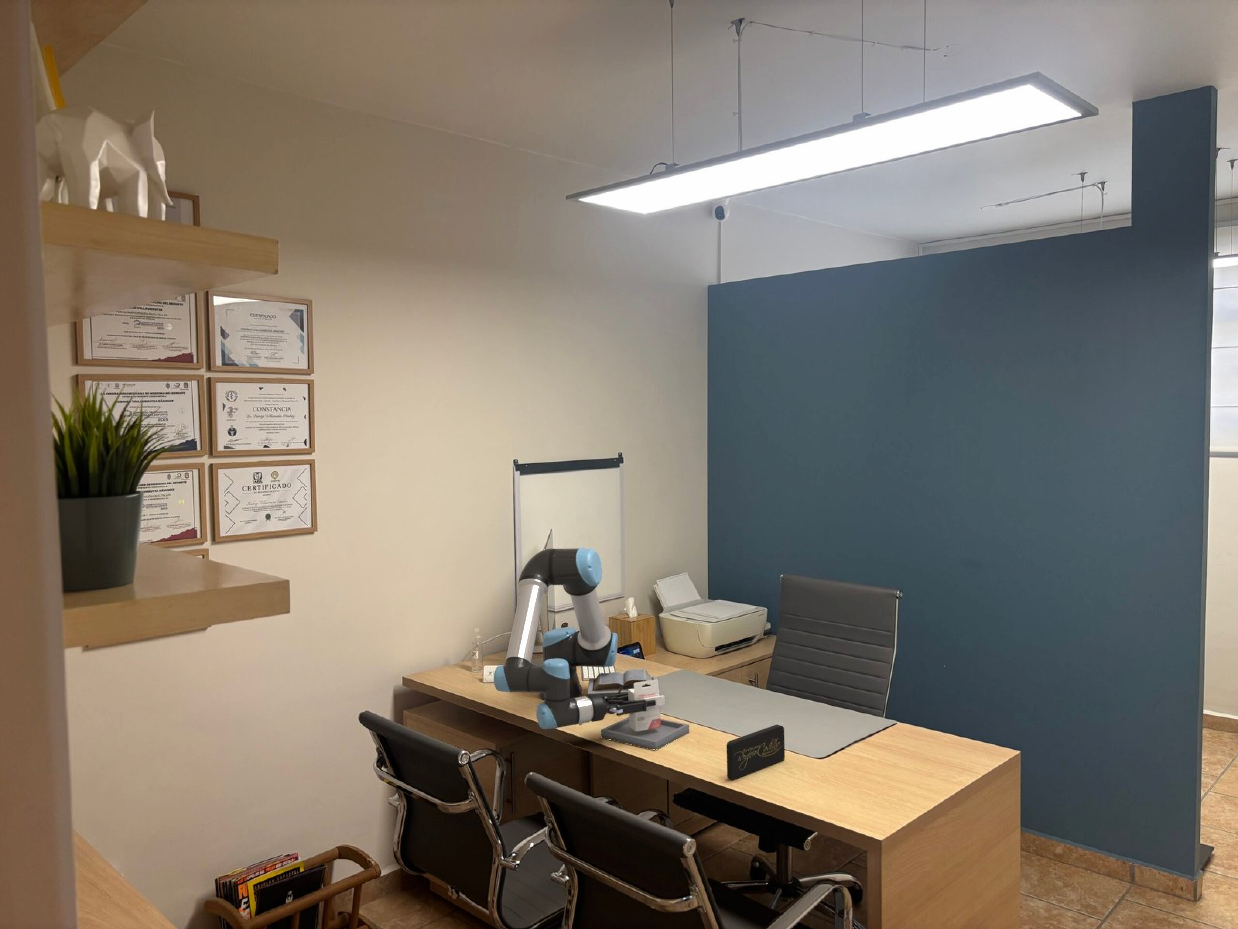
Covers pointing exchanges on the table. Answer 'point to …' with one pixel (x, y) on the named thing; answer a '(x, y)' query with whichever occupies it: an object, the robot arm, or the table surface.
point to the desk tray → (645, 733)
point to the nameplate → (755, 752)
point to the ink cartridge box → (652, 715)
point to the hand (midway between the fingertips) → (659, 697)
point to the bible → (617, 682)
